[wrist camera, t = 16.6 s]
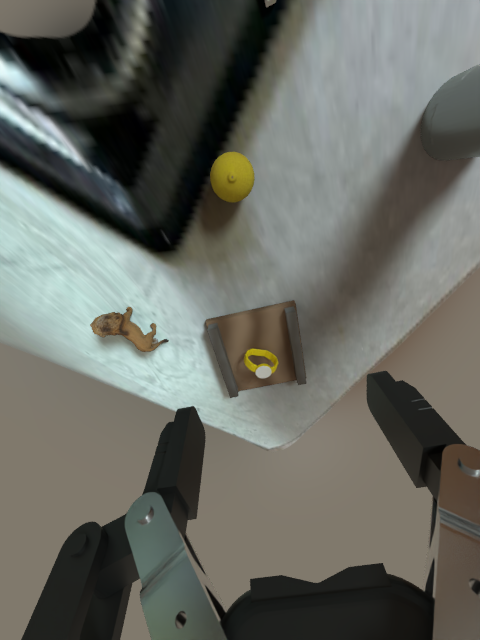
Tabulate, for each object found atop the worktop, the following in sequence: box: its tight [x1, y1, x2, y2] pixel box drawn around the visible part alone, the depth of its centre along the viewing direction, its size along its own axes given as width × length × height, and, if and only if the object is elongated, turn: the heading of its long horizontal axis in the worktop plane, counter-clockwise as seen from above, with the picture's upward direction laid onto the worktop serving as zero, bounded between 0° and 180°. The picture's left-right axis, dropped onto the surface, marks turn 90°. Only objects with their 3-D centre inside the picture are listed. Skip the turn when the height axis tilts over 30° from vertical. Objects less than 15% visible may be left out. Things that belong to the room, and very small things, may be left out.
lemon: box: [210, 152, 254, 202], centre depth 32 cm, size 6×6×8 cm
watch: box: [244, 349, 278, 378], centre depth 45 cm, size 6×3×6 cm, turn 78°
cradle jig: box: [206, 301, 306, 398], centre depth 48 cm, size 16×17×3 cm
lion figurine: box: [90, 307, 168, 352], centre depth 43 cm, size 12×4×7 cm, turn 54°
